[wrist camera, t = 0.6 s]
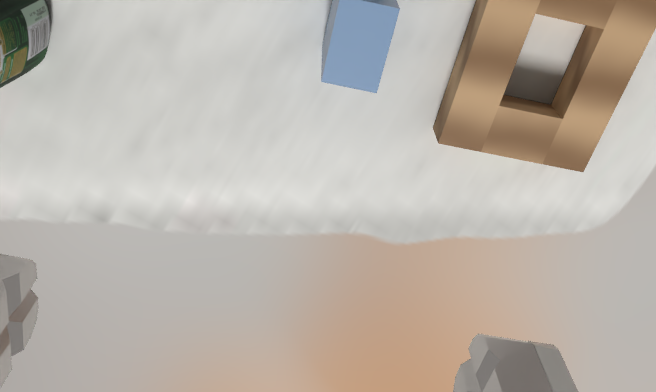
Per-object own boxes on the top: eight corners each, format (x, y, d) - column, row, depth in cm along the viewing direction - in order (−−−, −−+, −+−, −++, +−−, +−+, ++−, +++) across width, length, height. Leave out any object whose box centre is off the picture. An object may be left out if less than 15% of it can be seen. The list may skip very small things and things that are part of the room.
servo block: (342, -50, 45) (345, -29, 38) (394, -38, 45) (406, -15, 38) (318, 64, 49) (316, 101, 42) (365, 74, 50) (371, 112, 43)
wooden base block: (498, -65, 44) (508, -59, 42) (658, -26, 46) (678, -18, 43) (432, 128, 52) (438, 143, 50) (570, 156, 54) (583, 172, 51)
